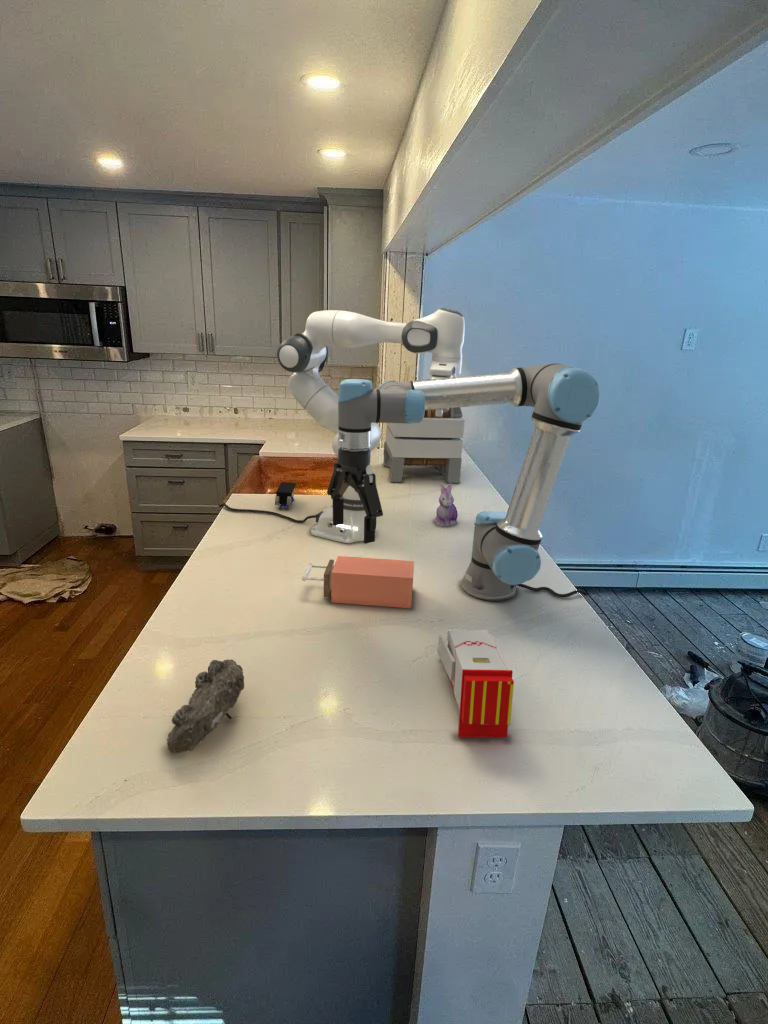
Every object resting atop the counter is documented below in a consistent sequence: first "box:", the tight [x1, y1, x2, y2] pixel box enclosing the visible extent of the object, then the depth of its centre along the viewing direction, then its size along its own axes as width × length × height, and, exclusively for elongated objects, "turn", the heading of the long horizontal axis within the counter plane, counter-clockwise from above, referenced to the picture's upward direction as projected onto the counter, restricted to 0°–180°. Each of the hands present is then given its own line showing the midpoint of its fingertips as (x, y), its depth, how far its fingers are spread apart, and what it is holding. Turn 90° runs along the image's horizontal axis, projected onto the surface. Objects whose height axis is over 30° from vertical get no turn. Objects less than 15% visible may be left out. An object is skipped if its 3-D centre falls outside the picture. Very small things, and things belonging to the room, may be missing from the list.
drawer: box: [301, 559, 335, 599], centre depth 155 cm, size 26×10×7 cm, turn 86°
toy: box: [437, 628, 515, 738], centre depth 117 cm, size 12×13×30 cm
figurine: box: [434, 483, 459, 527], centre depth 210 cm, size 9×10×15 cm
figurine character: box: [274, 481, 297, 510], centre depth 222 cm, size 7×8×15 cm
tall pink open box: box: [330, 555, 415, 609], centre depth 155 cm, size 21×11×9 cm, turn 86°
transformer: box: [383, 407, 465, 484], centre depth 268 cm, size 34×33×41 cm
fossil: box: [166, 658, 245, 754], centre depth 106 cm, size 22×10×15 cm
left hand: (442, 413), depth 172 cm, fingers open, 8 cm apart
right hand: (353, 533), depth 138 cm, fingers open, 13 cm apart
